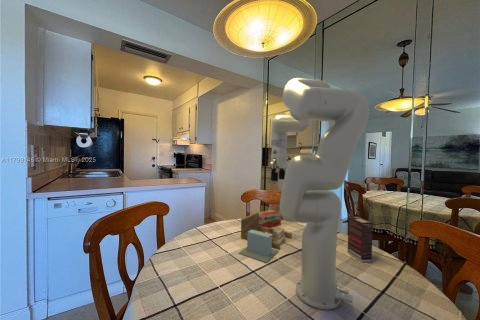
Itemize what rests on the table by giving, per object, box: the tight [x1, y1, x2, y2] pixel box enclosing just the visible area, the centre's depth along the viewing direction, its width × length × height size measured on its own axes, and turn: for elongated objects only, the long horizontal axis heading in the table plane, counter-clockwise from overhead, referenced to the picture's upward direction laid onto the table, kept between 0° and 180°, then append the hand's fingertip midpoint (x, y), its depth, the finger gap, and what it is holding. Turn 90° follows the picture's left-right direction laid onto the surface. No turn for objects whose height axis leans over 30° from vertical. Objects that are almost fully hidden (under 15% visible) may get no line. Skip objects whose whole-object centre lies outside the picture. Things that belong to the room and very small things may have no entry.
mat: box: [238, 247, 279, 264], centre depth 85 cm, size 13×12×1 cm
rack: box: [240, 211, 293, 251], centre depth 101 cm, size 21×16×10 cm
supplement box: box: [347, 216, 374, 263], centre depth 83 cm, size 9×5×16 cm, turn 9°
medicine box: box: [258, 209, 282, 228], centre depth 121 cm, size 15×8×8 cm, turn 127°
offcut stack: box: [271, 226, 286, 245], centre depth 98 cm, size 4×8×6 cm, turn 146°
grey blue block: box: [246, 230, 273, 257], centre depth 85 cm, size 10×4×8 cm, turn 56°
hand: (278, 180), depth 95 cm, fingers open, 9 cm apart
